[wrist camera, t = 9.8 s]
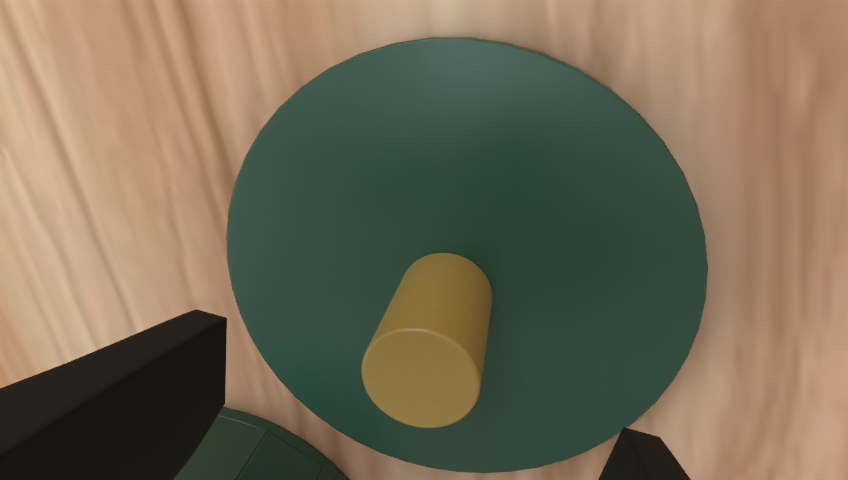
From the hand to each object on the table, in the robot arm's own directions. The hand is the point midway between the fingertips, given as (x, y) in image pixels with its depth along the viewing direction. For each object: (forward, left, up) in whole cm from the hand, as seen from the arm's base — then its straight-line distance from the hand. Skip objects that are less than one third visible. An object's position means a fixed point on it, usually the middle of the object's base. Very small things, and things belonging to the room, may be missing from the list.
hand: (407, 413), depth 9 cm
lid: (0, 0, -5) cm, 5 cm away
